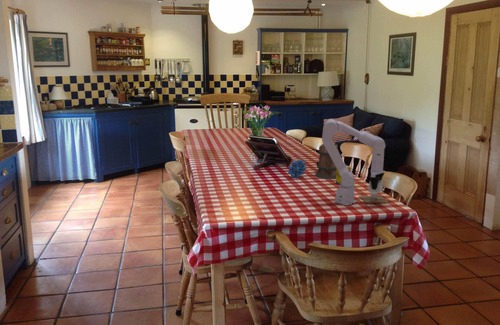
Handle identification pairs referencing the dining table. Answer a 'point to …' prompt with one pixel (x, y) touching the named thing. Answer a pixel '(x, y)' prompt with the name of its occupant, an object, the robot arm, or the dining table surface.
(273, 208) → the dining table surface
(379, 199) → the board
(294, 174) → the blue bumpy rounded lump
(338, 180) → the supplement box
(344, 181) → the robot arm
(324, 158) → the tankard
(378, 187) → the sleeve
